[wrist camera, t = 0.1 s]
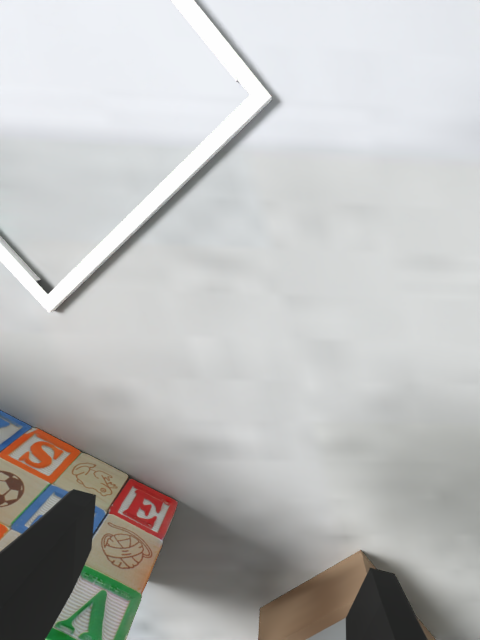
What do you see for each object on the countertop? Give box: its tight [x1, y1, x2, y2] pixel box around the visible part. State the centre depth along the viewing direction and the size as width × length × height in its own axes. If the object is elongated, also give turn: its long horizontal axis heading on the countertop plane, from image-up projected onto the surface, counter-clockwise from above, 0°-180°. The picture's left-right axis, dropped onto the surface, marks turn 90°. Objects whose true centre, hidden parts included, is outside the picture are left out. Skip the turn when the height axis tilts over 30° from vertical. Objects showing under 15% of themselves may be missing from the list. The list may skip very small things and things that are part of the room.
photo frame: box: [0, 0, 272, 313], centre depth 18 cm, size 15×1×18 cm
